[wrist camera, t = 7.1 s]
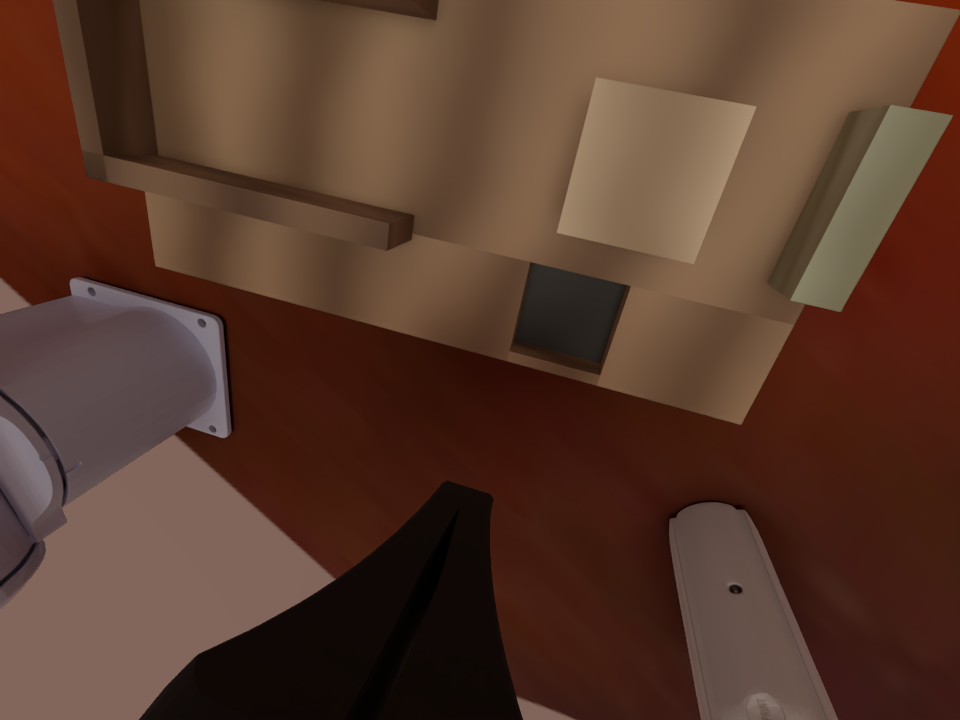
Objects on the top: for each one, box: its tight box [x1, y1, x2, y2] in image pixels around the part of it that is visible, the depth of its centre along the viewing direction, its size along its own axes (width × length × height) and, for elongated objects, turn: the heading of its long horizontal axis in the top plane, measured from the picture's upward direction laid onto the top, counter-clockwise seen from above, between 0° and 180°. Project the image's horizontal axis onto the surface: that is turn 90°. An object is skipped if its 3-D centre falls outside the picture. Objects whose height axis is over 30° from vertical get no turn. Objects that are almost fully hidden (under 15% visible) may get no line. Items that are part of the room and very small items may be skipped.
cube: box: [557, 77, 757, 264], centre depth 14 cm, size 4×4×4 cm
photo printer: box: [669, 502, 838, 720], centre depth 18 cm, size 10×4×12 cm, turn 23°
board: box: [139, 0, 960, 425], centre depth 17 cm, size 28×14×4 cm, turn 80°
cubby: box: [53, 0, 439, 251], centre depth 17 cm, size 13×8×2 cm, turn 80°
